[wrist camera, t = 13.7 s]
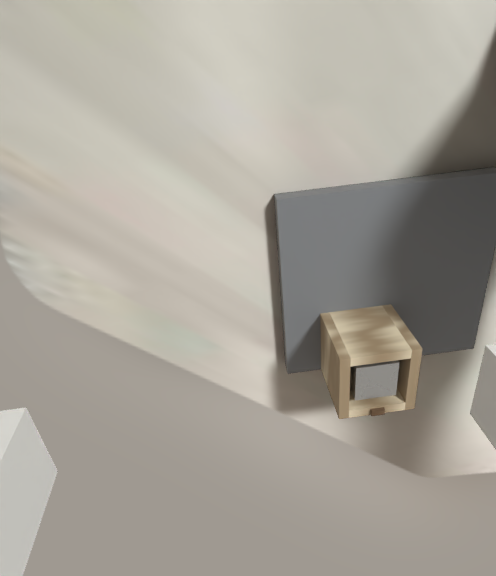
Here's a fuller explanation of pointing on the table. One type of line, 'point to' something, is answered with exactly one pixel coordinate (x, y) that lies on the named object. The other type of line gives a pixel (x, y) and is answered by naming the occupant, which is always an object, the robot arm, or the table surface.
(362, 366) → the steel block
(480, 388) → the robot arm
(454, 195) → the base board
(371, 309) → the hollow wooden cube frame
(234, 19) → the table surface
